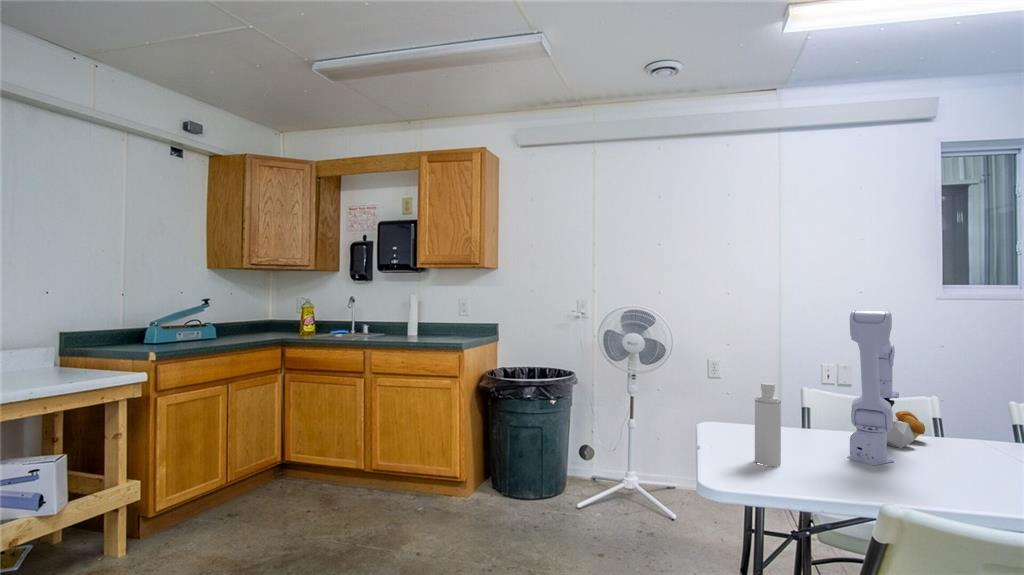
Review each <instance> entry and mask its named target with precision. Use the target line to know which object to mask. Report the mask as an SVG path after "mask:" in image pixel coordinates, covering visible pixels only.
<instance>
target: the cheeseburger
mask: <svg viewBox="0 0 1024 575" xmlns="http://www.w3.org/2000/svg"><path fill="white" fill-rule="evenodd" d="M894 415H895V417H896V419H895V420H897V421H901V422H905V423H908V424H909V426H910V429H911V431H912V433H913V436H914V438H915V440H916V439H917V438H918V437H919V436H920V435H924V434H925V431H926V425H925V424H924V423H923V422H921V421H919V419H918V418H917V417H916V415H914V414H913V413H912V412H910V411H908V410H900V411H897V412H895V414H894Z"/></svg>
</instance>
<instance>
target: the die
mask: <svg viewBox="0 0 1024 575" xmlns="http://www.w3.org/2000/svg"><path fill="white" fill-rule="evenodd" d="M897 420H898V419H897ZM897 420H896V419H893V426H892V429H891V430H890V431H887V445H888V446H891V447H895V448H897V447H898V448H899V449H903V448H904V447H906V446H909V444H911V443H912V442H914V441H915V440H916V439H915V438H914V436H913V433H912V431H911V429H910V426H909V424H908V423H905V422H901V421H897Z"/></svg>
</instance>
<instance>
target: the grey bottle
mask: <svg viewBox="0 0 1024 575" xmlns="http://www.w3.org/2000/svg"><path fill="white" fill-rule="evenodd" d="M775 386H776V385H775V383H771V382H761V383H760V391H761V395H759V396H757V397H756V398H754V463H755V462H757V463H760V464H763V465H767V466H779V467H781V466H780V465H781V464H782V461H781V460H782V451H781V450H782V438H781V437H782V434H781V433H782V424H781V423H782V419H781V418H782V412H781V411H782V408H781V407H782V406H781V405H782V403H781V402H782V401H781V400H780V399H779V398H778V397H776V396H774V395H775V390H776V389H775ZM757 463H756V464H757ZM767 466H766V467H767Z"/></svg>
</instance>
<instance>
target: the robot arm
mask: <svg viewBox="0 0 1024 575" xmlns="http://www.w3.org/2000/svg"><path fill="white" fill-rule="evenodd" d="M892 325H893V316H892V313H891V312H890V311H889V310H887V311H879V310H878V311H876V310H873V311H872V310H855V309H854V310H853V309H852V311H851V312H850V314H849V333H850V334H849V336H850V338H851V341H853V342H855V343H857V346H858V349H859V357H860V360H859V362H860V376H861V378H860V380H861V381H860V382H861V395H860V396H859V397H856V398H855V399H853V401H852V403H851V410H850V411H851V412H850V419H851V420H850V421H851V424H852V425H853V426H854V427H855V429H856V431H854V432H852V433H853V434H852V435H851V434H850V437H849V455H847V456H846V458H847V459H850V460H854V461H856V462H860V463H863V464H866V465H870V466H878V465H884V464H889V463H895V461H894V459H892V458H888V456H887V454H888V446H887V431H890V430H891V429H892V426H893V420H894V414H893V410H892V407H893V406H894V405H895V400H894V399H899V398H900V392H898V391H893V366H894V359H895V355H896V354H895V353H896V352H895V351H896V350H895V346H894V345H893V344H891V340H890V339H891V338H890V337H891V331H892V328H893V326H892Z"/></svg>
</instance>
